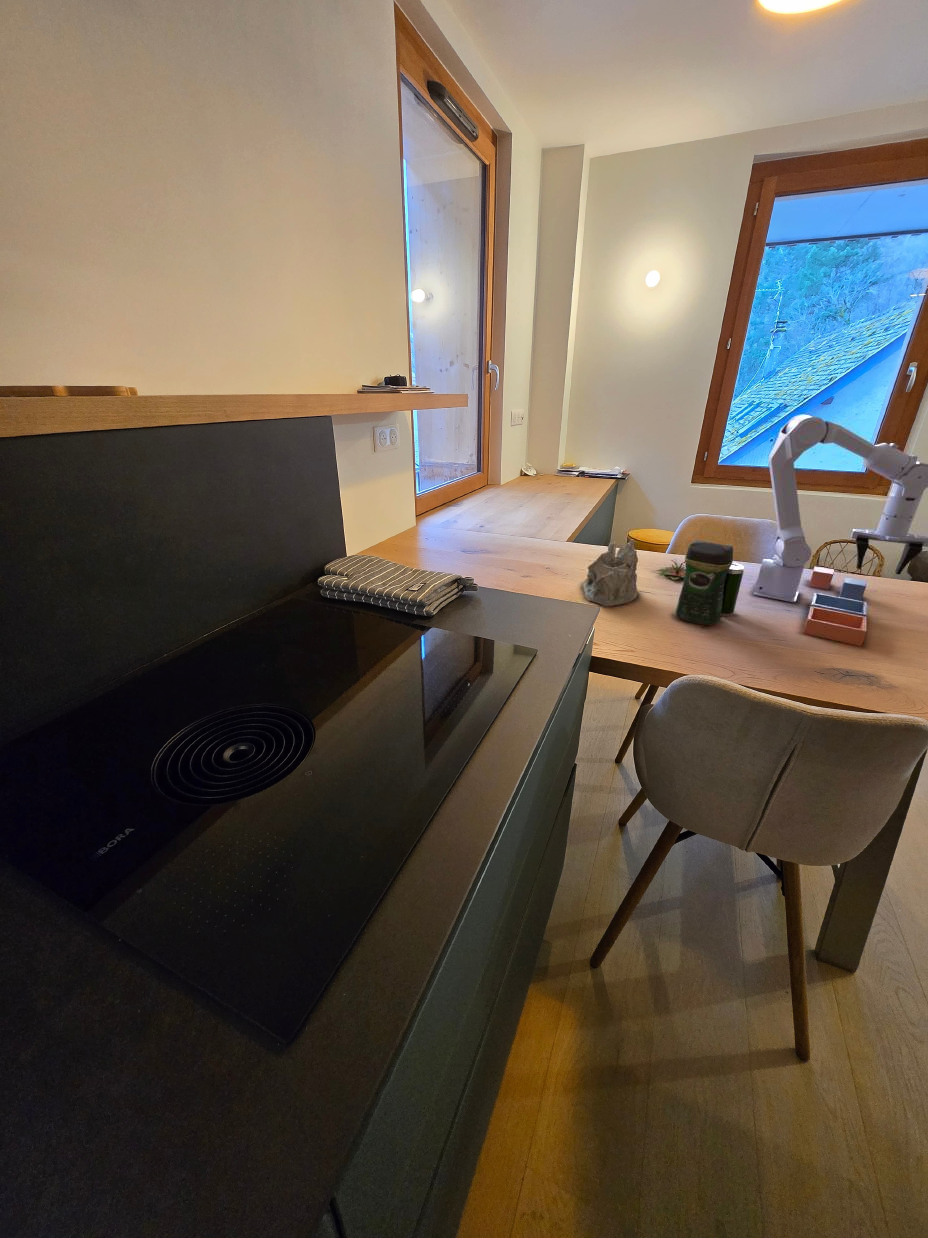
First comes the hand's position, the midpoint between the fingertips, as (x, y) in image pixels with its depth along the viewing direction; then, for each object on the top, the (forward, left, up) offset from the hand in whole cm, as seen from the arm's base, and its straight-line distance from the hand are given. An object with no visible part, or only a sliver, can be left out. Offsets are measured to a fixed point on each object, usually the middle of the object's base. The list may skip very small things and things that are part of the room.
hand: (877, 570), depth 120 cm
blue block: (-3, +2, -9) cm, 10 cm away
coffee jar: (-32, -33, -9) cm, 47 cm away
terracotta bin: (-6, -23, -9) cm, 26 cm away
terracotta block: (-10, +8, -9) cm, 15 cm away
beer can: (-28, -26, -9) cm, 39 cm away
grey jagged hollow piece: (-56, -30, -9) cm, 64 cm away
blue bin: (-6, -13, -9) cm, 17 cm away
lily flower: (-44, -6, -9) cm, 46 cm away
